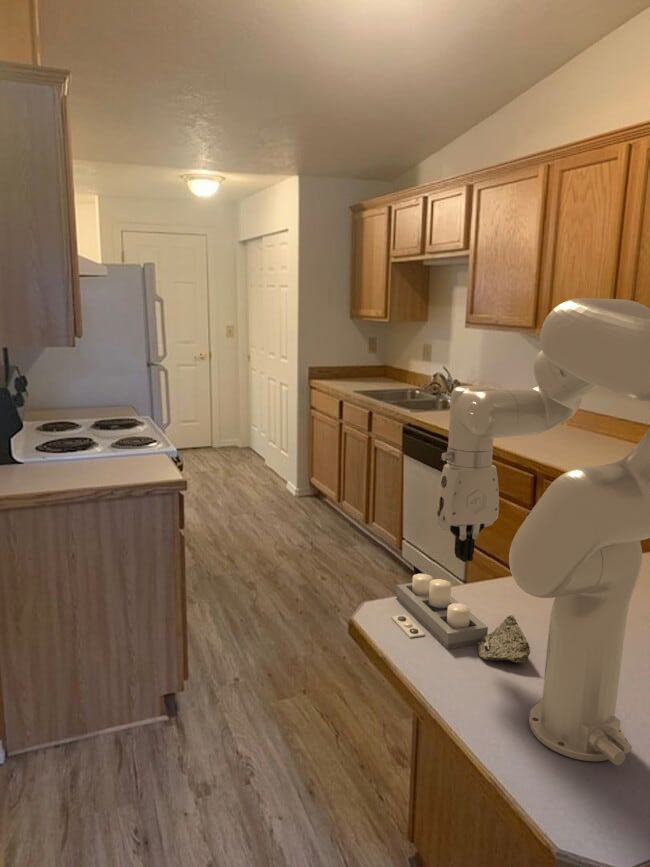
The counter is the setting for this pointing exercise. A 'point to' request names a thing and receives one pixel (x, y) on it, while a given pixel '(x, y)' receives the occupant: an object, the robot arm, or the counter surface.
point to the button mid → (439, 593)
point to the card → (407, 626)
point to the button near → (458, 616)
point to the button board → (440, 620)
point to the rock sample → (505, 643)
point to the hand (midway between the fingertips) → (463, 558)
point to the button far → (421, 584)
